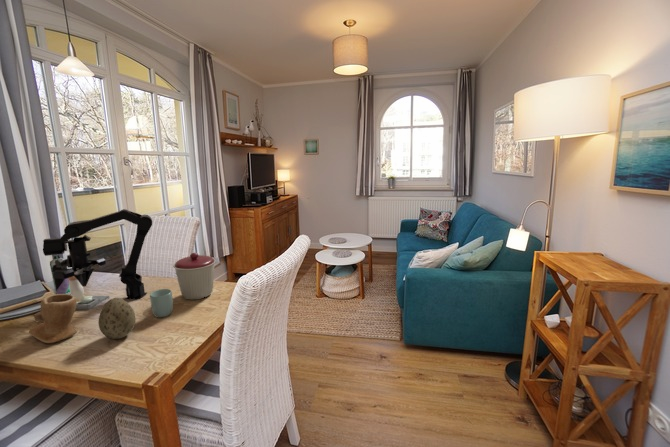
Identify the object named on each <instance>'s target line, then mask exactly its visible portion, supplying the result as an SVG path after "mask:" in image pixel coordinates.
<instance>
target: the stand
mask: <svg viewBox="0 0 670 447" xmlns="http://www.w3.org/2000/svg"><path fill="white" fill-rule="evenodd" d="M33 318H34V322H36V323H37V322H38V323H40V322H41V323H44V320H43V318H42V316H41V310H40V311H38V312H36V313H35V314H33Z"/></svg>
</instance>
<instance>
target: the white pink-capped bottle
mask: <svg viewBox="0 0 670 447" xmlns="http://www.w3.org/2000/svg"><path fill="white" fill-rule="evenodd" d="M68 280H69V286H70V291H71V295H73V296H75V298H76V301H80V299H81V298H83V297H85V296H86V295H85V291H84V287H83V286H82V285H81V284H80V282H79V281H78V280H77V279H76V277H74V276H72V277H69V278H68Z"/></svg>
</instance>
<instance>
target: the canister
mask: <svg viewBox="0 0 670 447" xmlns="http://www.w3.org/2000/svg"><path fill="white" fill-rule="evenodd" d="M216 261H217V260H216V259H215V258H214V257H211V256H210V255H204V254H202V255H201V254H200V255H199V253H197V252H192V253H191V254H189V256H187V257H183V258H180V259H178V260H177V261H175V262H174V263H173V264H172V268H174V269H175V274H176V278H177V282H178V283H177V284H178V287H179V290H180V294H181V295H182V297H183V298H185V299H186V300H188V301H189V300H191V301H195V300H200V299H201V300H202V299H204V297H205V298H207V297H208V296H210V295H211V294H212V292H213V290H214V278H215V264H216Z"/></svg>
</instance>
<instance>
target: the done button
mask: <svg viewBox="0 0 670 447" xmlns="http://www.w3.org/2000/svg"><path fill="white" fill-rule="evenodd" d="M87 296H88V297H83V298H81V299H80V301H81V304H86V303H90V302H92V301H93V300H92V297H91V296H92V295H87Z"/></svg>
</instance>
